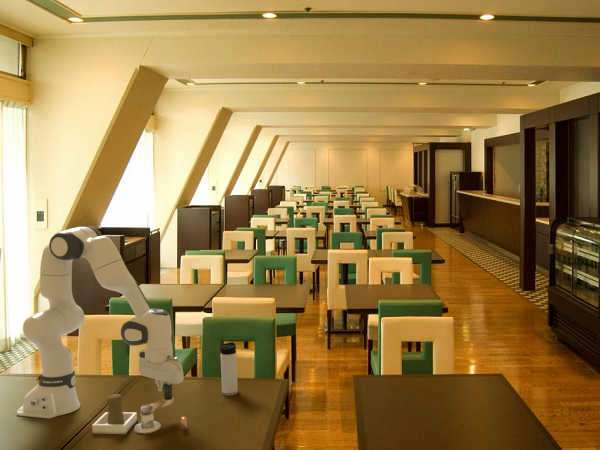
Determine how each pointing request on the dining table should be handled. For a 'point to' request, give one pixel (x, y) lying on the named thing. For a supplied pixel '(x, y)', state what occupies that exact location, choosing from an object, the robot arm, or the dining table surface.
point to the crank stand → (153, 424)
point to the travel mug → (229, 369)
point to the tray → (105, 428)
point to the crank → (161, 403)
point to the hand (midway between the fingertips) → (161, 391)
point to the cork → (115, 409)
